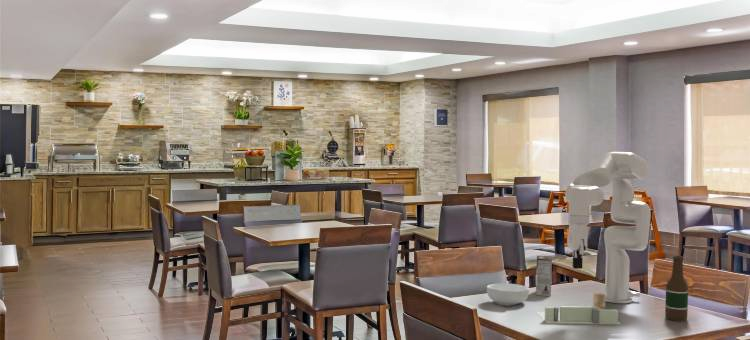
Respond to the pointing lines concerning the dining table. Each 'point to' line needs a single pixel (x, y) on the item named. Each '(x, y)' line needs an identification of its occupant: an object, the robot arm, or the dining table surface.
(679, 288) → the beer bottle
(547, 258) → the coffee box
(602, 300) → the roller
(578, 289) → the dining table surface
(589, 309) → the gate
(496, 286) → the cereal bowl
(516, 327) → the dining table surface
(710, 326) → the dining table surface
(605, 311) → the gate frame
